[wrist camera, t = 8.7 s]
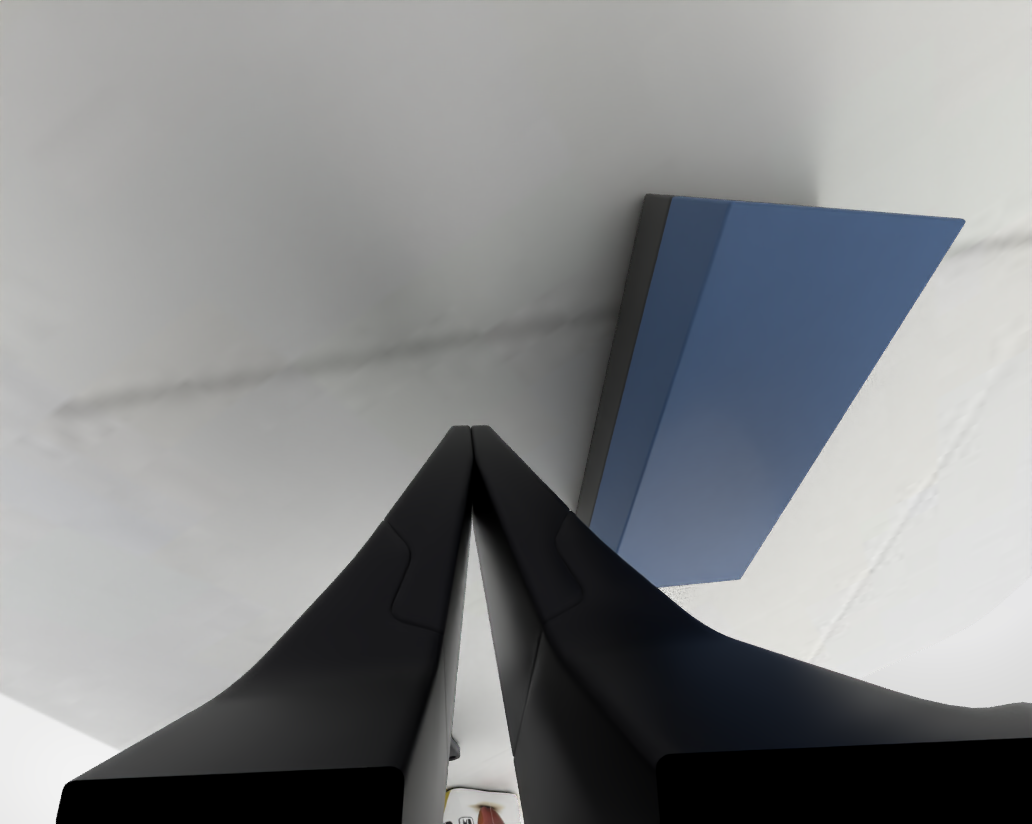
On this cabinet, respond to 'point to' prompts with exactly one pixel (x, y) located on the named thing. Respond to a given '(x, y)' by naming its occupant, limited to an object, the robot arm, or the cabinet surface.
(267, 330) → the cabinet surface
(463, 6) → the cabinet surface
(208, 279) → the cabinet surface
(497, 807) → the juice carton
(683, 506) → the whiteboard eraser
